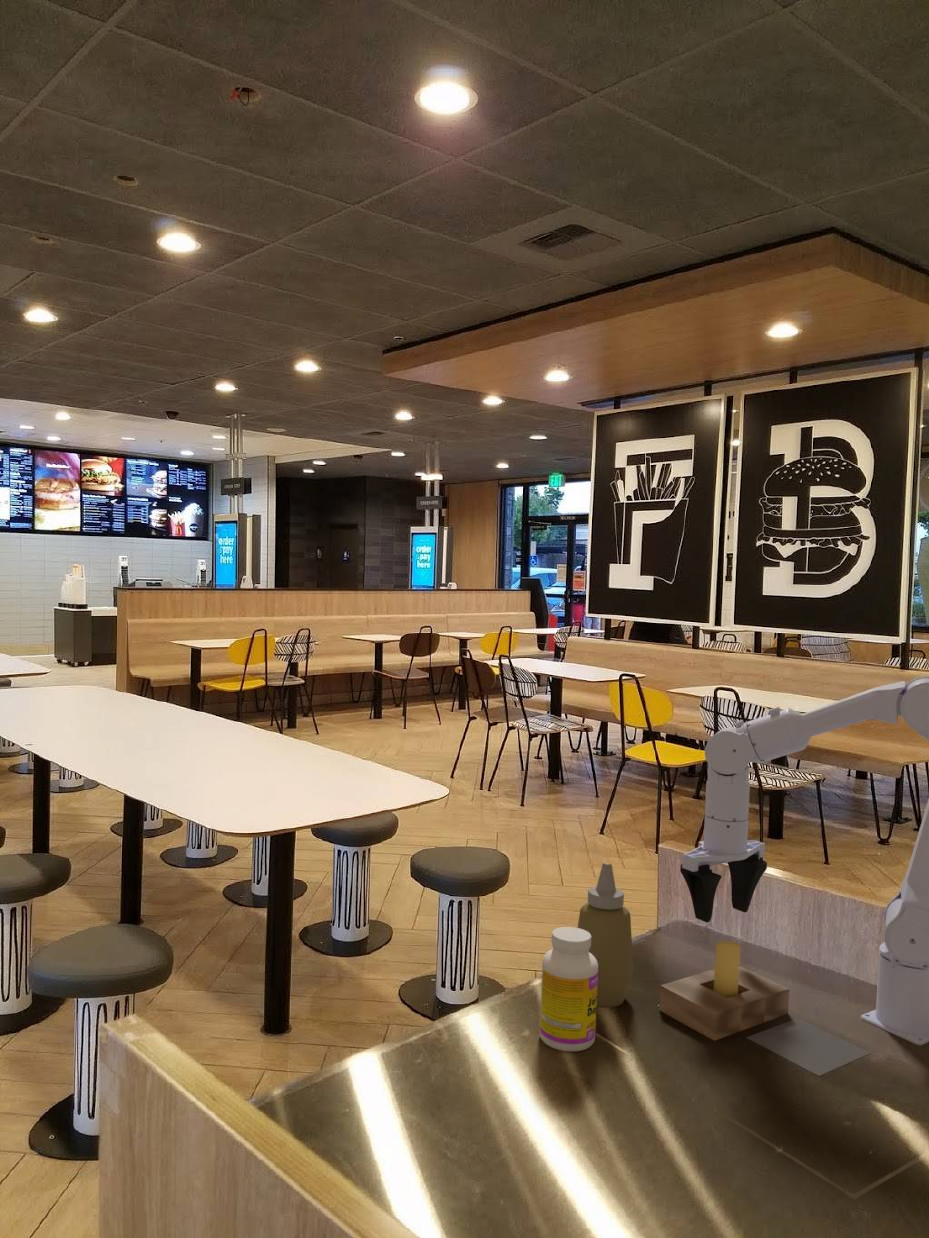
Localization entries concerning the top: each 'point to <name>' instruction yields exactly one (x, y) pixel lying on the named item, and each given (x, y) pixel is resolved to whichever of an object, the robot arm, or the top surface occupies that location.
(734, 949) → the peg
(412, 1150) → the top surface
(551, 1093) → the top surface
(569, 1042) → the supplement bottle
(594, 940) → the squeeze bottle
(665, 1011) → the walnut block
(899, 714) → the robot arm
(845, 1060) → the mat
